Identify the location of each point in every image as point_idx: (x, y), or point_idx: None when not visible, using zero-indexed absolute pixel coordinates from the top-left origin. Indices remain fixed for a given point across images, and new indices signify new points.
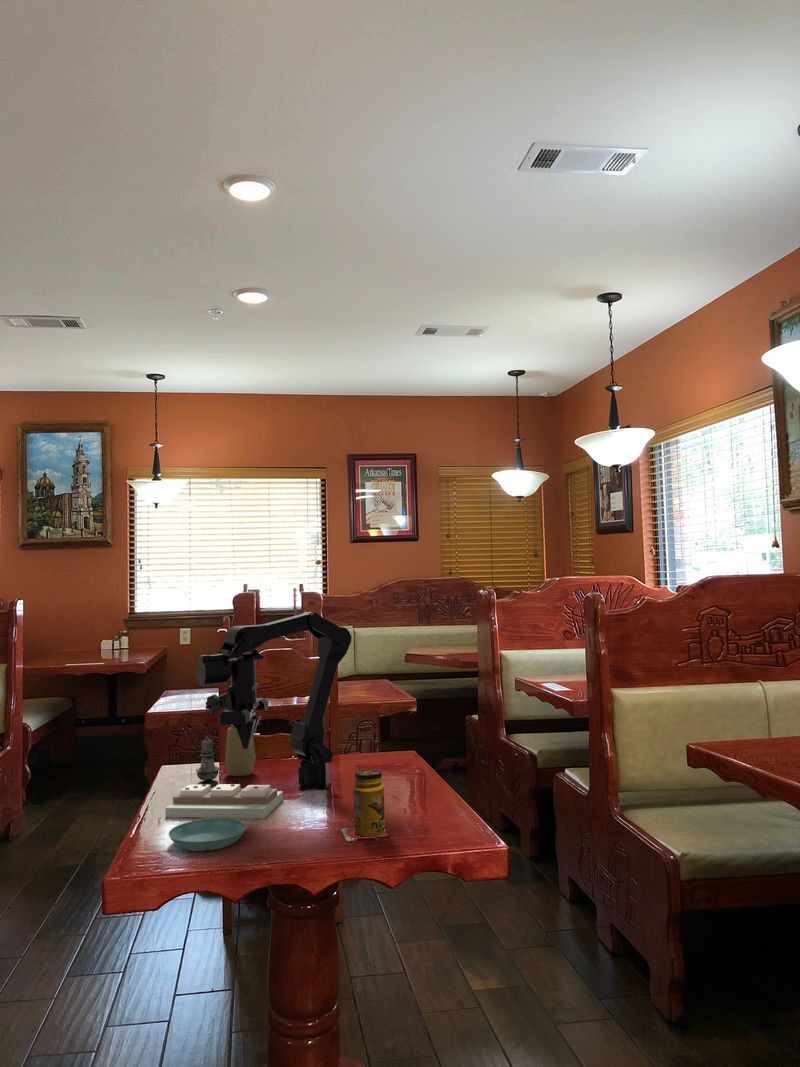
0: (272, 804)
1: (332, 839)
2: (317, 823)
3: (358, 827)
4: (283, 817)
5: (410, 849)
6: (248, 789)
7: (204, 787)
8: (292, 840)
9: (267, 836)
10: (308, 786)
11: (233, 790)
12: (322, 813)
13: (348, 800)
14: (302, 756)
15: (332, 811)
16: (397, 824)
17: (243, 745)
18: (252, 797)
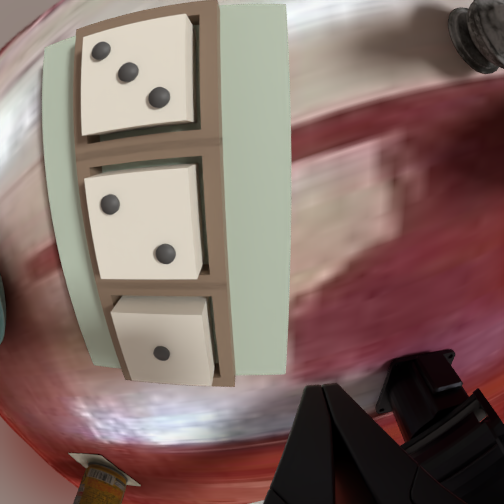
0: None
1: (65, 442)
2: (117, 433)
3: (84, 473)
4: (126, 385)
5: None
6: (133, 333)
7: (129, 117)
8: (34, 402)
9: (26, 368)
10: (393, 383)
11: (113, 277)
12: (177, 439)
13: (279, 458)
14: (473, 405)
15: (195, 449)
16: (155, 493)
17: (298, 411)
18: (115, 341)
